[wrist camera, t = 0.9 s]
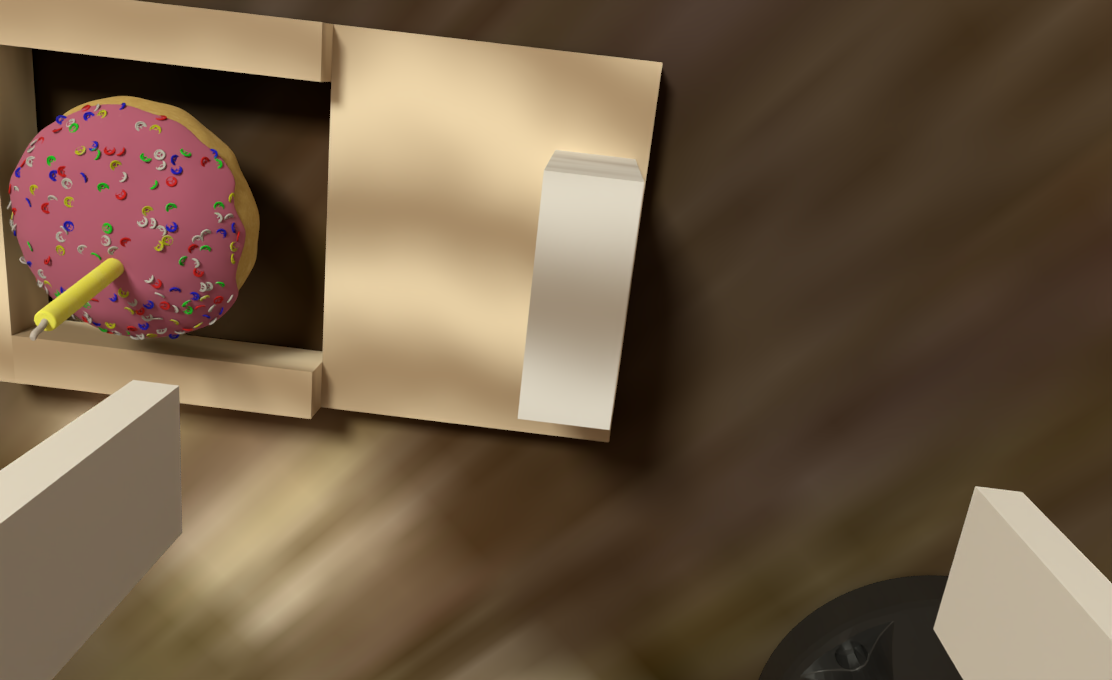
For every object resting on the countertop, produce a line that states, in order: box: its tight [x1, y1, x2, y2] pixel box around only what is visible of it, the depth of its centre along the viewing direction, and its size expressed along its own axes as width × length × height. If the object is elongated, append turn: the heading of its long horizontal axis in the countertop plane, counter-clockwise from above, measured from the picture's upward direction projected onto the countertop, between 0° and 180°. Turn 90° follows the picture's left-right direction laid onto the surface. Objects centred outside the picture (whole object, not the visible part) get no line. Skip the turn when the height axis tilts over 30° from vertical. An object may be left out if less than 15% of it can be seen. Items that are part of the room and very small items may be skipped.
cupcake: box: [7, 96, 260, 341], centre depth 30 cm, size 9×8×12 cm
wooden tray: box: [0, 0, 662, 442], centre depth 31 cm, size 15×26×8 cm, turn 84°
